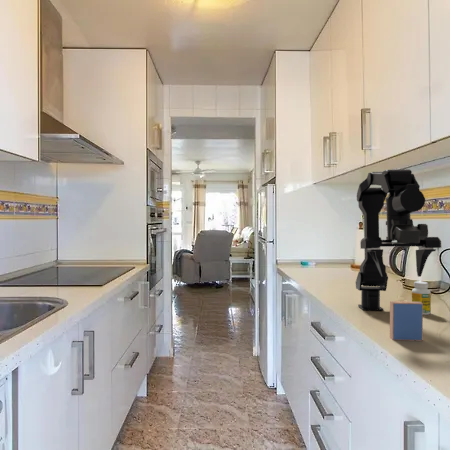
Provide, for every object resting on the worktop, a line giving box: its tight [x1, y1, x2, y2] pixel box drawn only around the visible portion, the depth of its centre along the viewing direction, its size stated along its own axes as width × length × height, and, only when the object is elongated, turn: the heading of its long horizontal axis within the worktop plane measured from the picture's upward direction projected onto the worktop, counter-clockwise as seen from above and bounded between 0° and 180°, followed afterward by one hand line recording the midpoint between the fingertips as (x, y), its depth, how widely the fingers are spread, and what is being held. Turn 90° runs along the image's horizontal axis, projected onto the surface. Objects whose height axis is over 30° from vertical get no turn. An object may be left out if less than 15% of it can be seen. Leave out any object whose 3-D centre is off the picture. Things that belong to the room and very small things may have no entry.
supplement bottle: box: [411, 281, 432, 316], centre depth 124 cm, size 5×5×10 cm
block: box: [389, 300, 424, 342], centre depth 96 cm, size 2×7×9 cm, turn 86°
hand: (400, 276), depth 103 cm, fingers open, 9 cm apart
